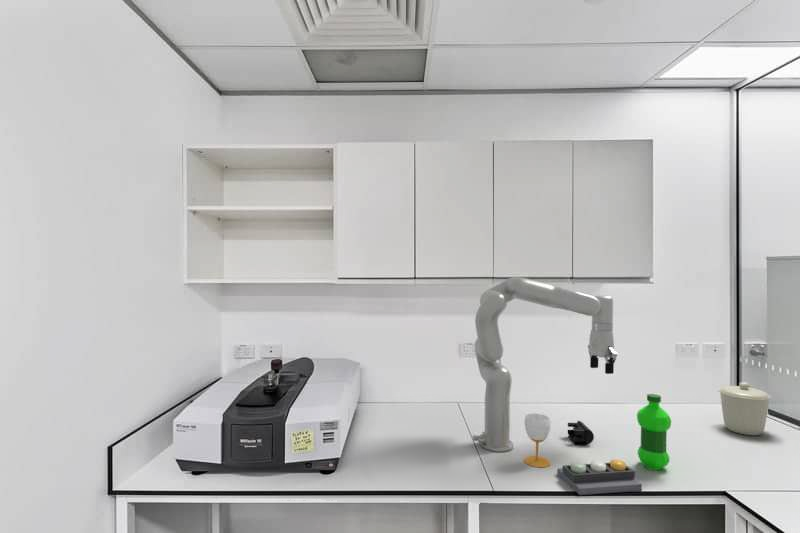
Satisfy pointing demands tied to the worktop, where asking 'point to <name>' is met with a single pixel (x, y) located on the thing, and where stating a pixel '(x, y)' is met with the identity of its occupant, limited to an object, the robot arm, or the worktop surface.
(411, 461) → the worktop surface
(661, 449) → the plastic bottle
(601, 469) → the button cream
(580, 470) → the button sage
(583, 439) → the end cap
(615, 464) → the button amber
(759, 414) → the canister
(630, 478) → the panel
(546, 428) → the cup
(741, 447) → the worktop surface
